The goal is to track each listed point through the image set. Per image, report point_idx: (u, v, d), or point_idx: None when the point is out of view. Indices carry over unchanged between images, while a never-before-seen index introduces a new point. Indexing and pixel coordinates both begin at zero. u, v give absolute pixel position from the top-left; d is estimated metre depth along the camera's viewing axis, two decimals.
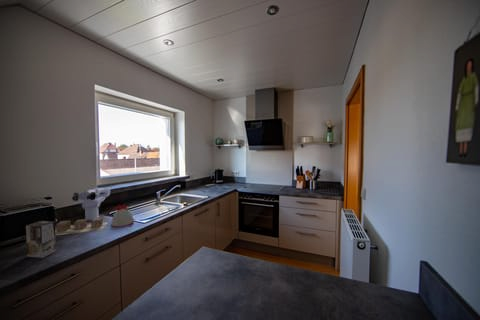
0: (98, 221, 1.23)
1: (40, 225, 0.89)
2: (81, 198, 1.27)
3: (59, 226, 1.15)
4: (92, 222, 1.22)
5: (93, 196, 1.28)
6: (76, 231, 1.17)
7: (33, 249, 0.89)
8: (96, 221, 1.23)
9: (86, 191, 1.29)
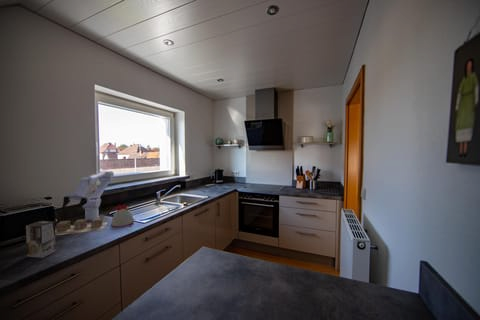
0: (98, 221, 1.23)
1: (40, 225, 0.89)
2: (73, 198, 1.23)
3: (59, 226, 1.15)
4: (92, 222, 1.22)
5: (84, 201, 1.24)
6: (76, 231, 1.17)
7: (33, 249, 0.89)
8: (96, 221, 1.23)
9: (76, 195, 1.21)
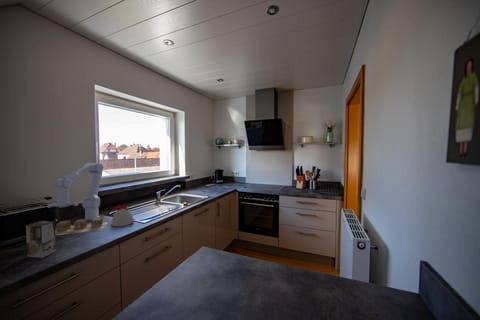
0: (98, 221, 1.23)
1: (40, 225, 0.89)
2: None
3: (59, 226, 1.15)
4: (92, 222, 1.22)
5: None
6: (76, 231, 1.17)
7: (33, 249, 0.89)
8: (96, 221, 1.23)
9: (61, 205, 1.14)
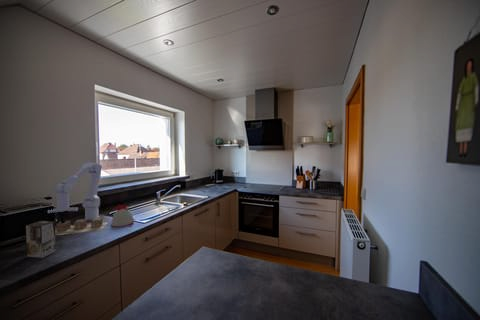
0: (98, 221, 1.23)
1: (40, 225, 0.89)
2: None
3: (59, 226, 1.15)
4: (92, 222, 1.22)
5: None
6: (76, 231, 1.17)
7: (33, 249, 0.89)
8: (96, 221, 1.23)
9: (61, 211, 1.15)
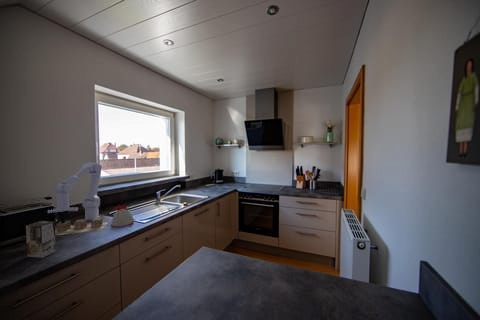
0: (98, 221, 1.23)
1: (40, 225, 0.89)
2: None
3: (59, 226, 1.15)
4: (92, 222, 1.22)
5: None
6: (76, 231, 1.17)
7: (33, 249, 0.89)
8: (96, 221, 1.23)
9: (61, 211, 1.15)
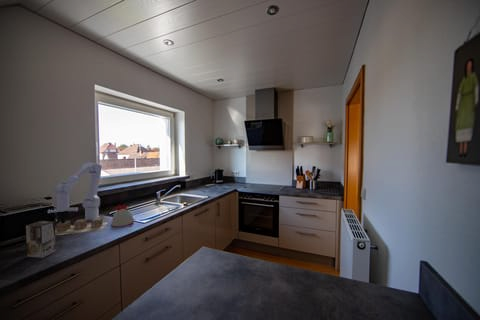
0: (98, 221, 1.23)
1: (40, 225, 0.89)
2: None
3: (59, 226, 1.15)
4: (92, 222, 1.22)
5: None
6: (76, 231, 1.17)
7: (33, 249, 0.89)
8: (96, 221, 1.23)
9: (61, 211, 1.15)
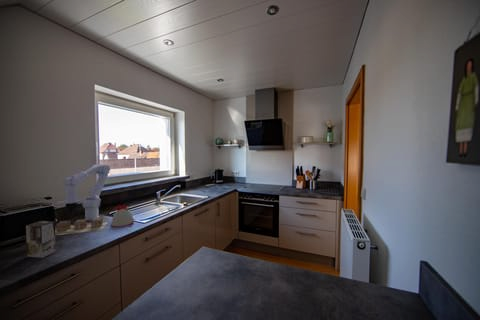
0: (98, 221, 1.23)
1: (40, 225, 0.89)
2: None
3: (59, 226, 1.15)
4: (92, 222, 1.22)
5: None
6: (76, 231, 1.17)
7: (33, 249, 0.89)
8: (96, 221, 1.23)
9: (70, 203, 1.21)
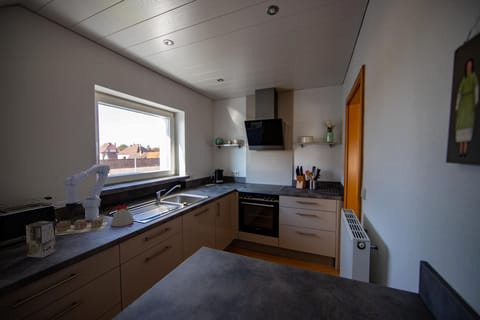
0: (98, 221, 1.23)
1: (40, 225, 0.89)
2: None
3: (59, 226, 1.15)
4: (92, 222, 1.22)
5: None
6: (76, 231, 1.17)
7: (33, 249, 0.89)
8: (96, 221, 1.23)
9: (70, 203, 1.21)
